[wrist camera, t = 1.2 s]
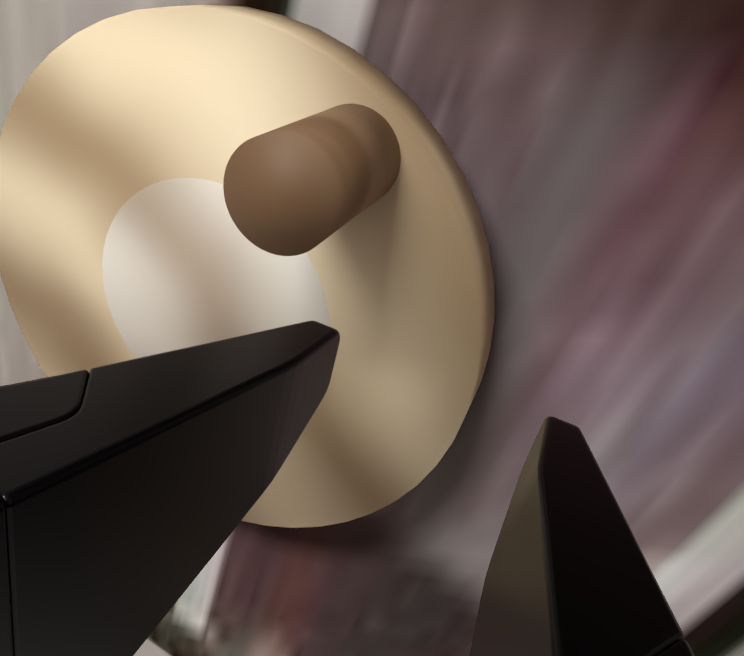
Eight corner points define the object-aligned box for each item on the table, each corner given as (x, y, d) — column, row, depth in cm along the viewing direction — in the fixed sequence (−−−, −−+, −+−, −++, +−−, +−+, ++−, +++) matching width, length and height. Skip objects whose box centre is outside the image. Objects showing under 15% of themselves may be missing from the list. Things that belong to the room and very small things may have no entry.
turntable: (271, 557, 27) (185, 684, 22) (-29, 249, 26) (-191, 311, 21) (620, 334, 18) (605, 460, 13) (194, -146, 17) (7, -197, 12)
